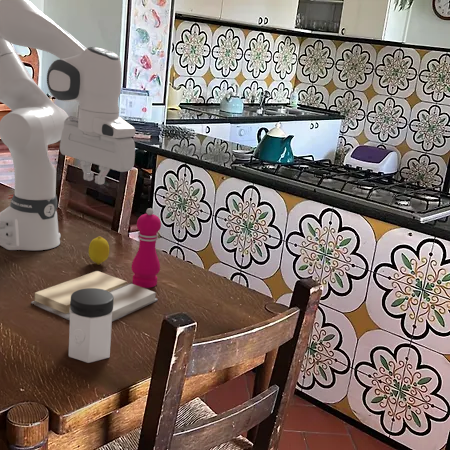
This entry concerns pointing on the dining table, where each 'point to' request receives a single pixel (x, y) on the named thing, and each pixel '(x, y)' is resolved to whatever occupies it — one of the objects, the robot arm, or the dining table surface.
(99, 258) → the lemon
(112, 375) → the dining table surface
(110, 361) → the dining table surface
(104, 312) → the jar
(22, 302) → the dining table surface
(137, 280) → the pepper mill
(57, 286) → the birch plank
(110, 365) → the dining table surface
